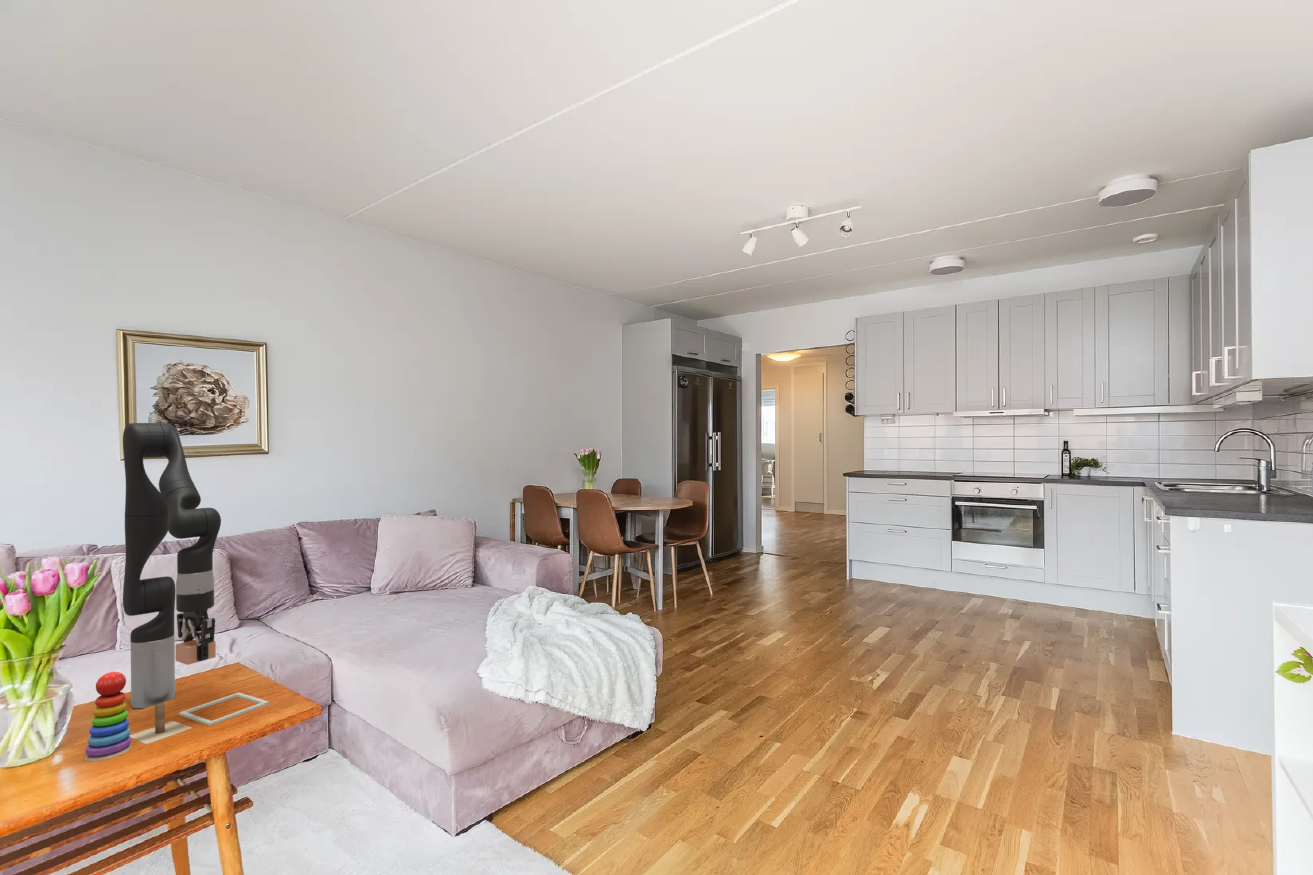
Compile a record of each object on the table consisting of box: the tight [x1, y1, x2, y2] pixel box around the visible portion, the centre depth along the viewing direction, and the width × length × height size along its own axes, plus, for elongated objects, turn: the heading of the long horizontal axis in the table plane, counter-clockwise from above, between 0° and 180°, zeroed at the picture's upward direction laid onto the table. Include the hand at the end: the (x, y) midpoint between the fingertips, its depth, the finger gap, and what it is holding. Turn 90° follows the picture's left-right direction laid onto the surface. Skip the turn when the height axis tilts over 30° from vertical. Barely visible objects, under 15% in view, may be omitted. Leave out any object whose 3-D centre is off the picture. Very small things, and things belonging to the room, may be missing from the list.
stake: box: [129, 702, 192, 745], centre depth 146 cm, size 9×9×8 cm
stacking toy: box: [84, 671, 132, 762], centre depth 136 cm, size 8×8×19 cm
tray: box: [178, 692, 270, 726], centre depth 158 cm, size 14×14×2 cm
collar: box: [175, 637, 217, 666], centre depth 153 cm, size 6×7×4 cm
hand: (196, 657), depth 153 cm, fingers closed on collar, 6 cm apart
